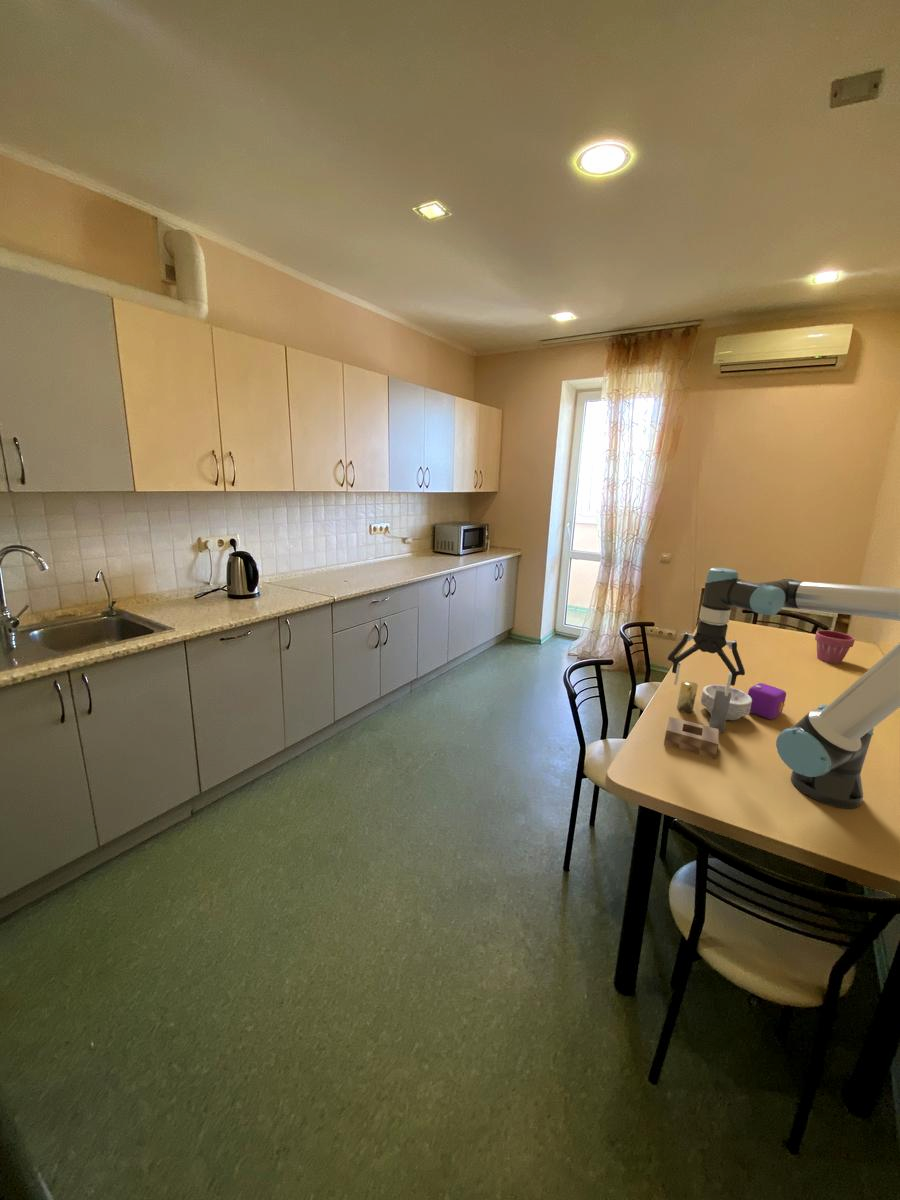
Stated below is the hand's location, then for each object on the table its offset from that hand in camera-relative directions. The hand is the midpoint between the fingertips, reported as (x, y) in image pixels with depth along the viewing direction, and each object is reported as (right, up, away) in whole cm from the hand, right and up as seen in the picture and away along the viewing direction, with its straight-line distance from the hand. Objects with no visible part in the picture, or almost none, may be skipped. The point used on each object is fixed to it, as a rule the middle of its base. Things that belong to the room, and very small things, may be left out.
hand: (700, 688), depth 141 cm
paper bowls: (+21, -14, +25) cm, 36 cm away
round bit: (+9, -13, +27) cm, 31 cm away
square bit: (+13, -16, +15) cm, 26 cm away
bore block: (-1, -18, +5) cm, 19 cm away
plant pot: (+105, -2, +82) cm, 133 cm away
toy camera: (+38, -14, +28) cm, 49 cm away
